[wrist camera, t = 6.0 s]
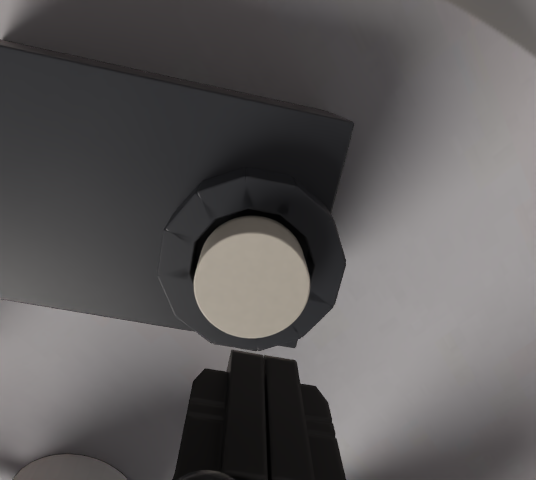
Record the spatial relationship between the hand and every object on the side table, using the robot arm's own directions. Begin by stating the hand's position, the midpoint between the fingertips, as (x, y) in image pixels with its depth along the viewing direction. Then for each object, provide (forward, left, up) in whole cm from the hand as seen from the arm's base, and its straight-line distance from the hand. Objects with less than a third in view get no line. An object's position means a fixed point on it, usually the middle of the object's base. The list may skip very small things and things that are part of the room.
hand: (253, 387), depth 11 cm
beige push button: (0, 0, -8) cm, 8 cm away
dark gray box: (+4, -3, -15) cm, 16 cm away
